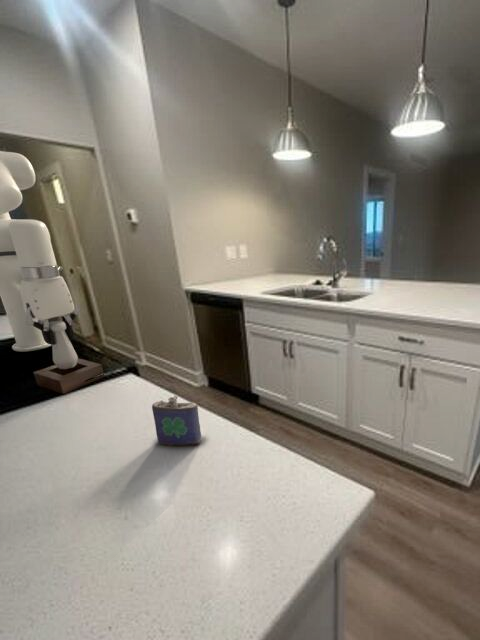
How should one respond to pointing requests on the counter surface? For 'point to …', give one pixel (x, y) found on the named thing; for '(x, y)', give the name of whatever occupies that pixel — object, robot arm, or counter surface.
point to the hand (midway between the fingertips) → (60, 340)
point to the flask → (177, 423)
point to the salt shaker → (62, 346)
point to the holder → (68, 376)
